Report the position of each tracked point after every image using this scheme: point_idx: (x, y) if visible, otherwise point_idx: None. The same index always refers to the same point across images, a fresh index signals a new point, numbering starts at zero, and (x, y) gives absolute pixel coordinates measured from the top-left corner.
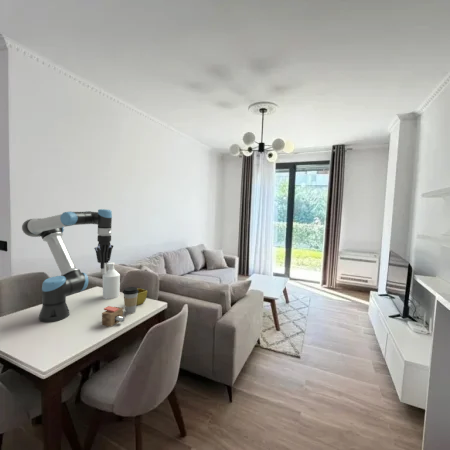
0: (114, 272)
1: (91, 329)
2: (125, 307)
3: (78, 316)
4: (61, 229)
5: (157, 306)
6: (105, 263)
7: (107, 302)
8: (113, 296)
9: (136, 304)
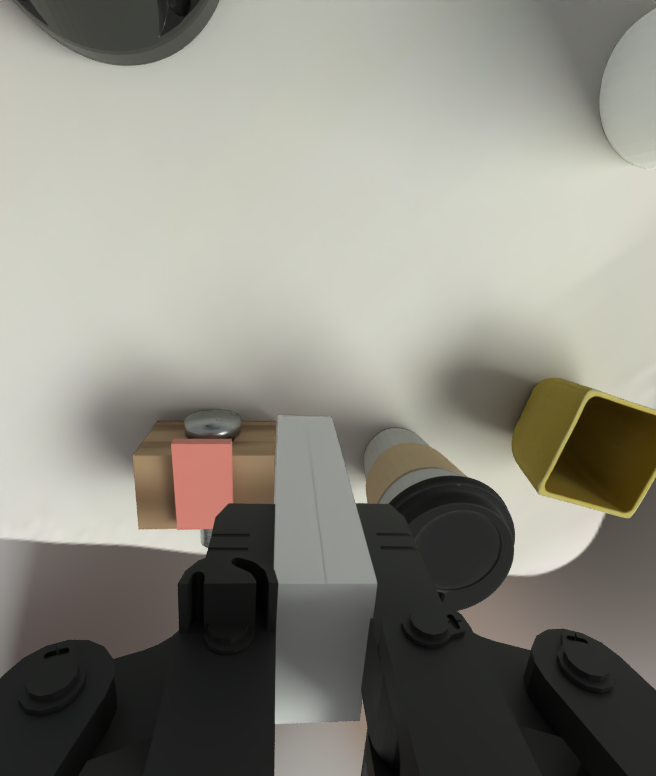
0: None
1: (80, 403)
2: (375, 455)
3: (201, 150)
4: None
5: (520, 555)
6: (305, 711)
7: (520, 168)
8: (631, 149)
9: (516, 424)
